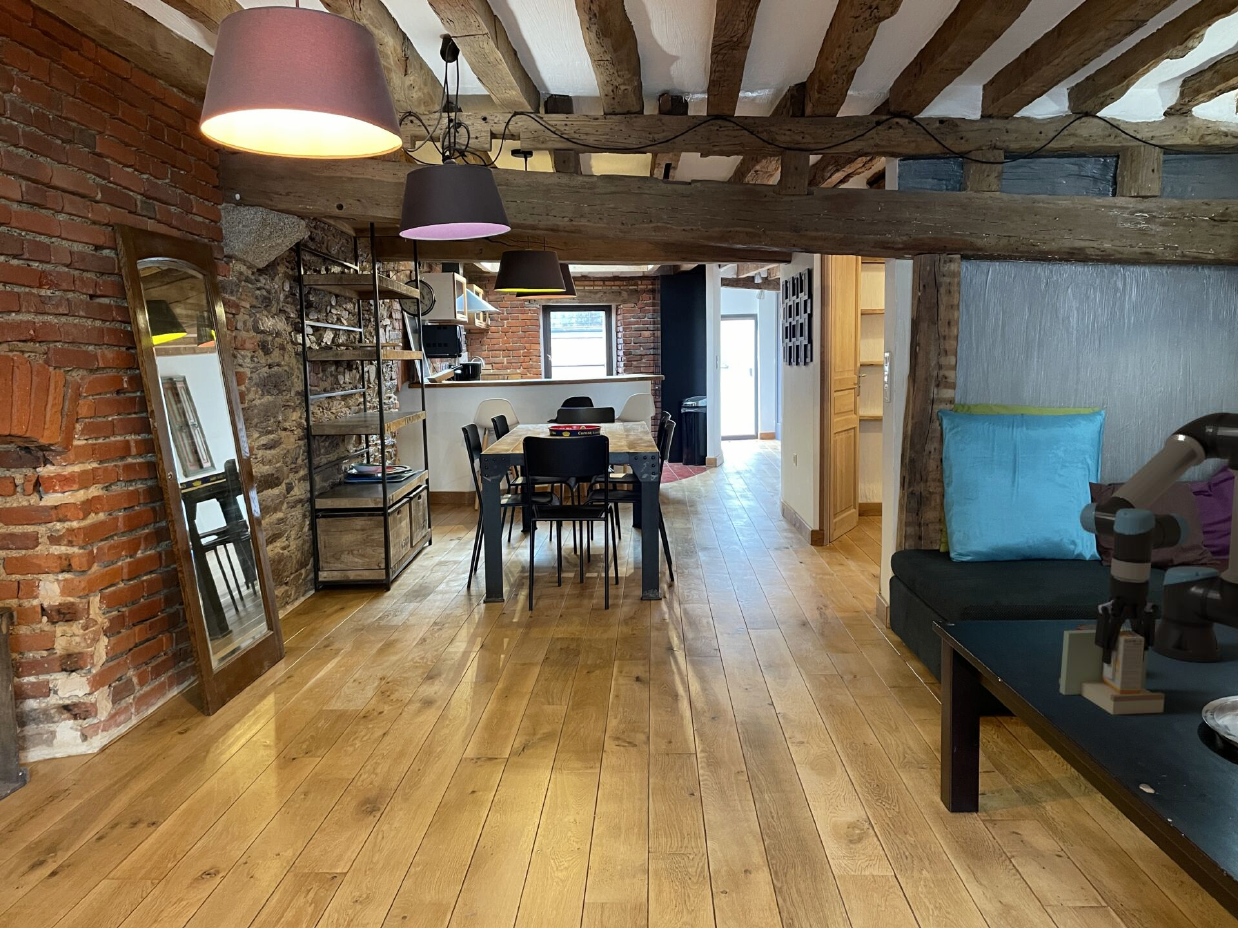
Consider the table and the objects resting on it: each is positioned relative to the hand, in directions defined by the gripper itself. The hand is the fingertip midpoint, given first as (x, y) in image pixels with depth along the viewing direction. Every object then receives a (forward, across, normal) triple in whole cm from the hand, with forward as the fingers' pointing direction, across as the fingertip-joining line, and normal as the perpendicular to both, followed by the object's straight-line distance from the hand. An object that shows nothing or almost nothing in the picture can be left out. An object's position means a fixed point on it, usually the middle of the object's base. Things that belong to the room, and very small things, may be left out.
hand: (1121, 676), depth 189 cm
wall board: (+6, 0, -3) cm, 7 cm away
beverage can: (+7, -4, -17) cm, 19 cm away
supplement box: (+3, 0, 0) cm, 3 cm away
